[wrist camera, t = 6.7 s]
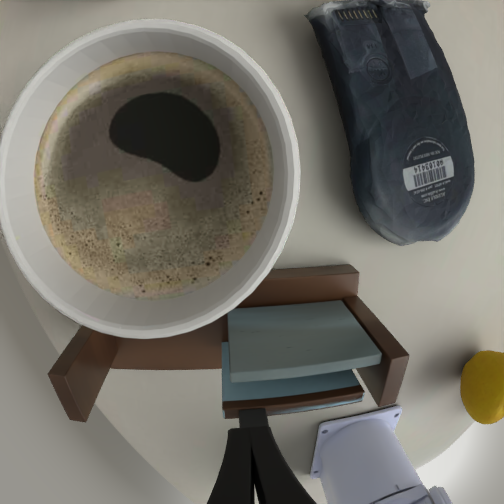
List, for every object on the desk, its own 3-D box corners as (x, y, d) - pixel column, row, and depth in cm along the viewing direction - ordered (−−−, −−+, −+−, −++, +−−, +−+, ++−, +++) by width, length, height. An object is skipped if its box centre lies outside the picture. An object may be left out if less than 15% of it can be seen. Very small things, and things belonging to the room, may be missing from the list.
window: (342, 344, 21) (388, 422, 13) (116, 356, 20) (80, 439, 12) (350, 264, 19) (417, 326, 11) (96, 277, 18) (35, 345, 10)
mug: (291, 165, 17) (371, 176, 7) (178, 283, 18) (142, 398, 9) (154, 43, 14) (93, -50, 5) (52, 167, 16) (-68, 187, 6)
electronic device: (280, 39, 16) (363, 264, 18) (308, -13, 10) (419, 282, 13) (391, 30, 17) (459, 217, 19) (433, -3, 12) (515, 220, 14)
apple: (496, 326, 22) (548, 367, 15) (485, 374, 24) (526, 416, 17) (450, 351, 22) (501, 404, 15) (440, 399, 24) (480, 450, 17)
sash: (329, 341, 18) (377, 430, 11) (222, 350, 18) (224, 452, 11) (330, 331, 18) (381, 420, 11) (221, 341, 18) (223, 443, 10)
